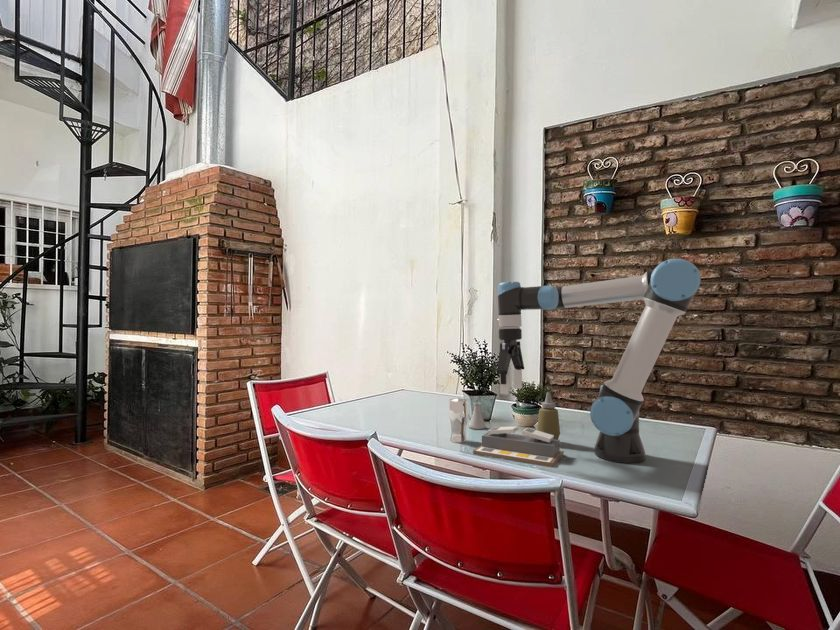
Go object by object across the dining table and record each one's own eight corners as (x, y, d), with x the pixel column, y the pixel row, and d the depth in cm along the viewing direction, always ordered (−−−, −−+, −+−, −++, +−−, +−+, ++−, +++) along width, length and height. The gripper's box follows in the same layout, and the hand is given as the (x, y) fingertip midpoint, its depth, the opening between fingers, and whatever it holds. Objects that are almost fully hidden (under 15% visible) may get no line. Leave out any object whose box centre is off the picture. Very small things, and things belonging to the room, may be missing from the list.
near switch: (553, 439, 150) (554, 435, 149) (549, 442, 145) (550, 438, 145) (526, 430, 154) (527, 427, 154) (522, 434, 150) (522, 430, 150)
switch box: (563, 454, 150) (563, 437, 150) (552, 467, 138) (552, 448, 138) (488, 443, 163) (489, 427, 163) (473, 453, 151) (473, 436, 151)
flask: (472, 430, 183) (472, 405, 183) (465, 426, 190) (465, 402, 190) (489, 429, 185) (489, 404, 185) (481, 425, 192) (481, 401, 192)
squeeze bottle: (563, 442, 166) (563, 392, 166) (556, 447, 159) (556, 395, 159) (541, 438, 170) (541, 390, 170) (533, 443, 164) (533, 393, 164)
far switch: (518, 429, 155) (517, 425, 156) (513, 432, 151) (512, 429, 151) (493, 431, 160) (492, 427, 160) (488, 434, 156) (487, 430, 156)
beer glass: (452, 444, 163) (452, 401, 163) (446, 439, 170) (446, 398, 170) (471, 442, 165) (471, 400, 165) (464, 437, 172) (464, 397, 172)
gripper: (511, 327, 167) (512, 385, 167) (485, 328, 145) (487, 396, 145) (531, 327, 163) (533, 386, 163) (508, 328, 142) (510, 397, 141)
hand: (511, 391), depth 154 cm, fingers open, 13 cm apart
